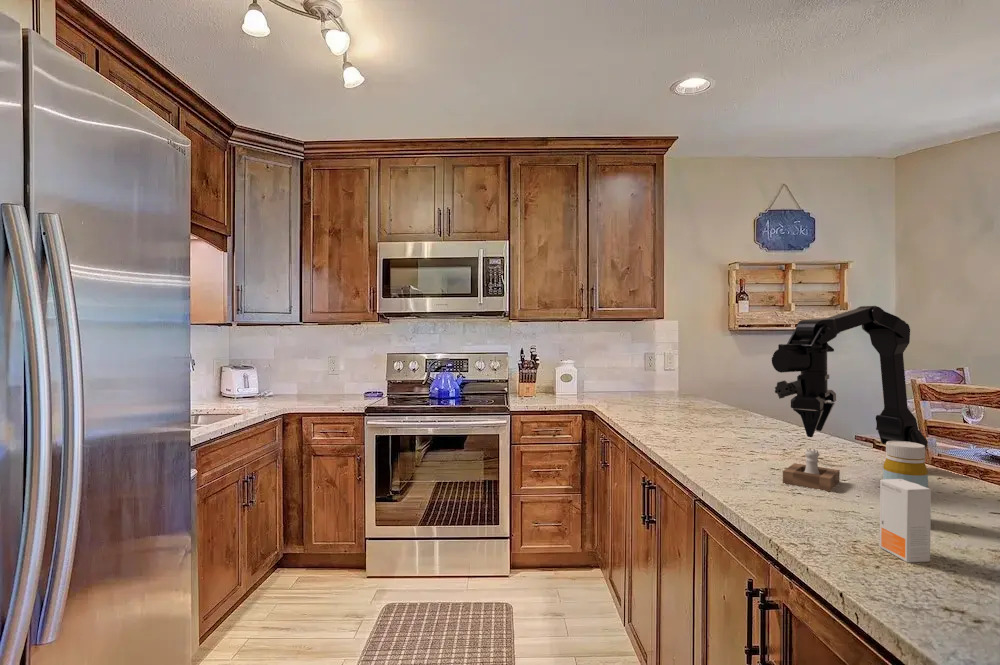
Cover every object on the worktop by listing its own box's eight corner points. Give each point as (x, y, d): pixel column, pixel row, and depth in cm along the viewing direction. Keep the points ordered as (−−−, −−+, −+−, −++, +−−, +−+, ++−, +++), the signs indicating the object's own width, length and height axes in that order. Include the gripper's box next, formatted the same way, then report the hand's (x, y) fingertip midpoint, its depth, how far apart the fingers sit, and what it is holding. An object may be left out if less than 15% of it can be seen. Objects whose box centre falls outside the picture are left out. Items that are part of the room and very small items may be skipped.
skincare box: (878, 548, 94) (878, 478, 94) (901, 547, 94) (901, 478, 94) (907, 563, 88) (907, 489, 88) (932, 562, 88) (932, 488, 88)
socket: (794, 474, 140) (794, 463, 139) (839, 482, 133) (839, 470, 133) (782, 483, 132) (782, 471, 132) (830, 491, 125) (830, 478, 125)
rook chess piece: (819, 481, 134) (819, 448, 134) (824, 486, 130) (824, 452, 130) (799, 479, 135) (799, 447, 135) (803, 484, 131) (803, 451, 131)
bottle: (935, 527, 103) (935, 448, 103) (893, 525, 104) (894, 447, 104) (915, 515, 110) (915, 441, 110) (876, 513, 111) (876, 439, 111)
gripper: (788, 366, 146) (789, 424, 147) (767, 372, 133) (768, 436, 133) (836, 368, 139) (836, 429, 139) (819, 374, 125) (819, 442, 125)
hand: (814, 433), depth 134 cm, fingers open, 9 cm apart
